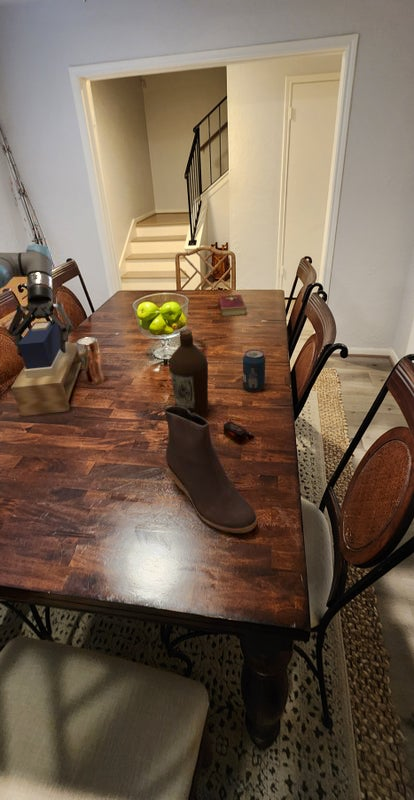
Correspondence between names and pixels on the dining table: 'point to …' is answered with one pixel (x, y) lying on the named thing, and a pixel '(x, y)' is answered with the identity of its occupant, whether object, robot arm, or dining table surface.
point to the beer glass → (91, 359)
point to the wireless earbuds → (236, 432)
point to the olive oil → (189, 376)
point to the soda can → (253, 370)
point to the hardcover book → (232, 305)
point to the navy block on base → (41, 349)
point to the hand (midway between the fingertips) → (41, 353)
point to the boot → (204, 473)
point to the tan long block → (48, 386)
